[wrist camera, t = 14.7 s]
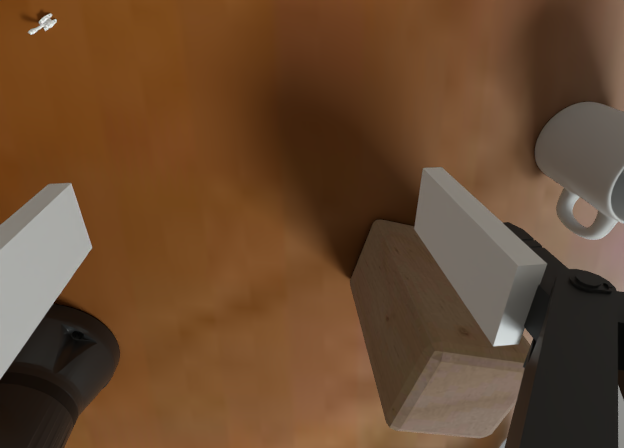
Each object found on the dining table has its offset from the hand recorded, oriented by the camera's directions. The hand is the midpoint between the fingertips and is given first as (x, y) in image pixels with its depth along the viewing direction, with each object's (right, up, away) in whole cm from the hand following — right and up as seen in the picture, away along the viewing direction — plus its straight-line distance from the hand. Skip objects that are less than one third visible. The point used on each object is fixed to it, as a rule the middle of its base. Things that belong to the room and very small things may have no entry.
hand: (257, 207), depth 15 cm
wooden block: (+13, -5, +33) cm, 36 cm away
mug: (+30, +7, +28) cm, 42 cm away
